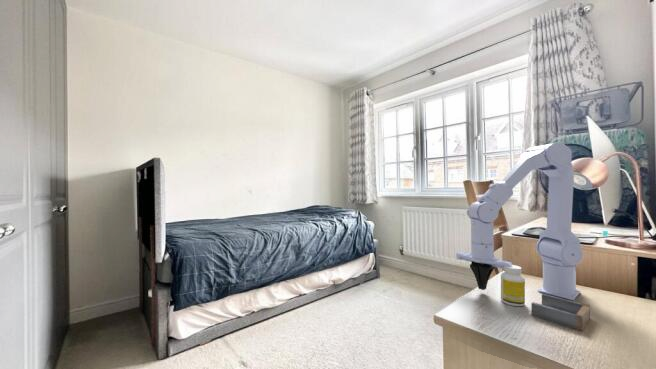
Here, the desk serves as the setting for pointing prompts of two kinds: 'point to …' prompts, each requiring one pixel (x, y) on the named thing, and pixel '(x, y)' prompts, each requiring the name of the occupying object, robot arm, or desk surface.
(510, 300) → the supplement bottle
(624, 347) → the desk surface
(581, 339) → the desk surface
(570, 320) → the bracket
